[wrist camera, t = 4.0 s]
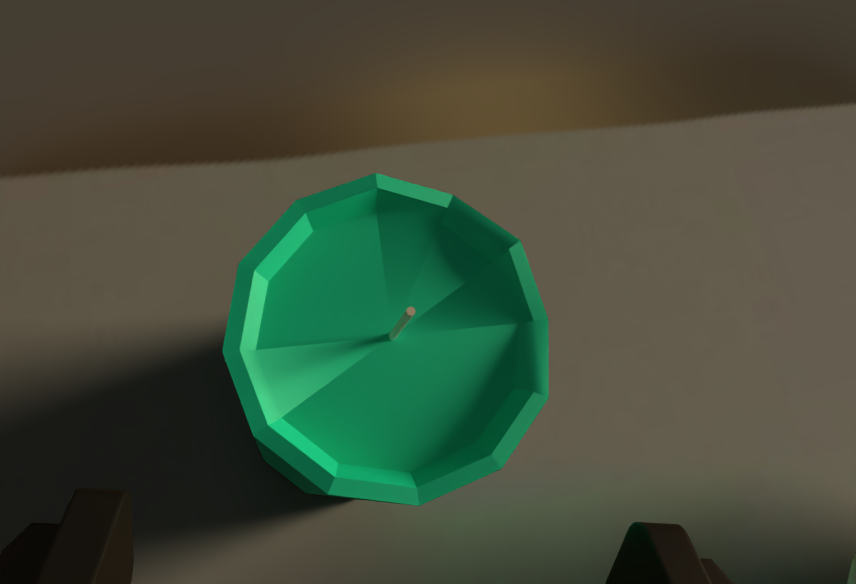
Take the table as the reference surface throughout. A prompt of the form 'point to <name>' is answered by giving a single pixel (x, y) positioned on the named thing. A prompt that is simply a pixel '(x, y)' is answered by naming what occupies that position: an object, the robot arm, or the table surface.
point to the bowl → (852, 572)
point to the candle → (387, 343)
